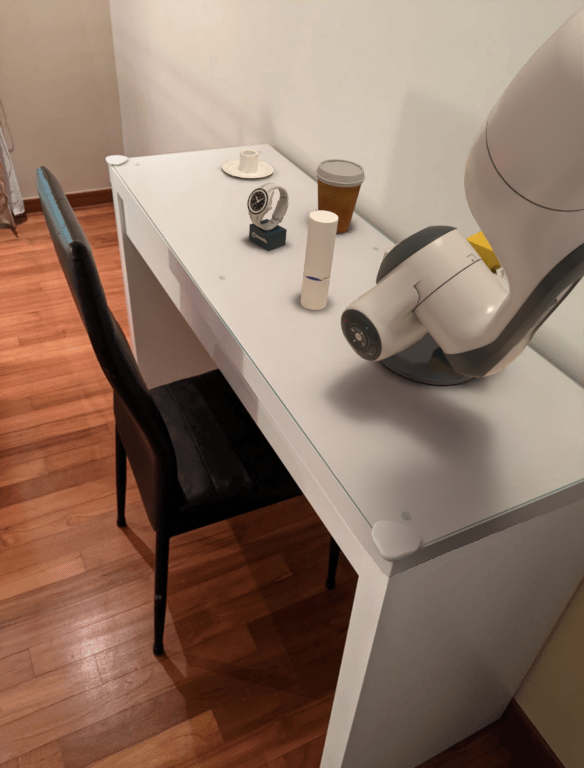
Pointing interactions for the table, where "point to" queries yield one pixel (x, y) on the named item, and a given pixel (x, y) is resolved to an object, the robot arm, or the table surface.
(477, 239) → the sponge
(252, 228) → the watch
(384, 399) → the table surface
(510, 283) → the robot arm
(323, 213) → the tube
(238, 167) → the candle holder
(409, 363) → the plate
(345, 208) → the disposable coffee cup
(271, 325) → the table surface
